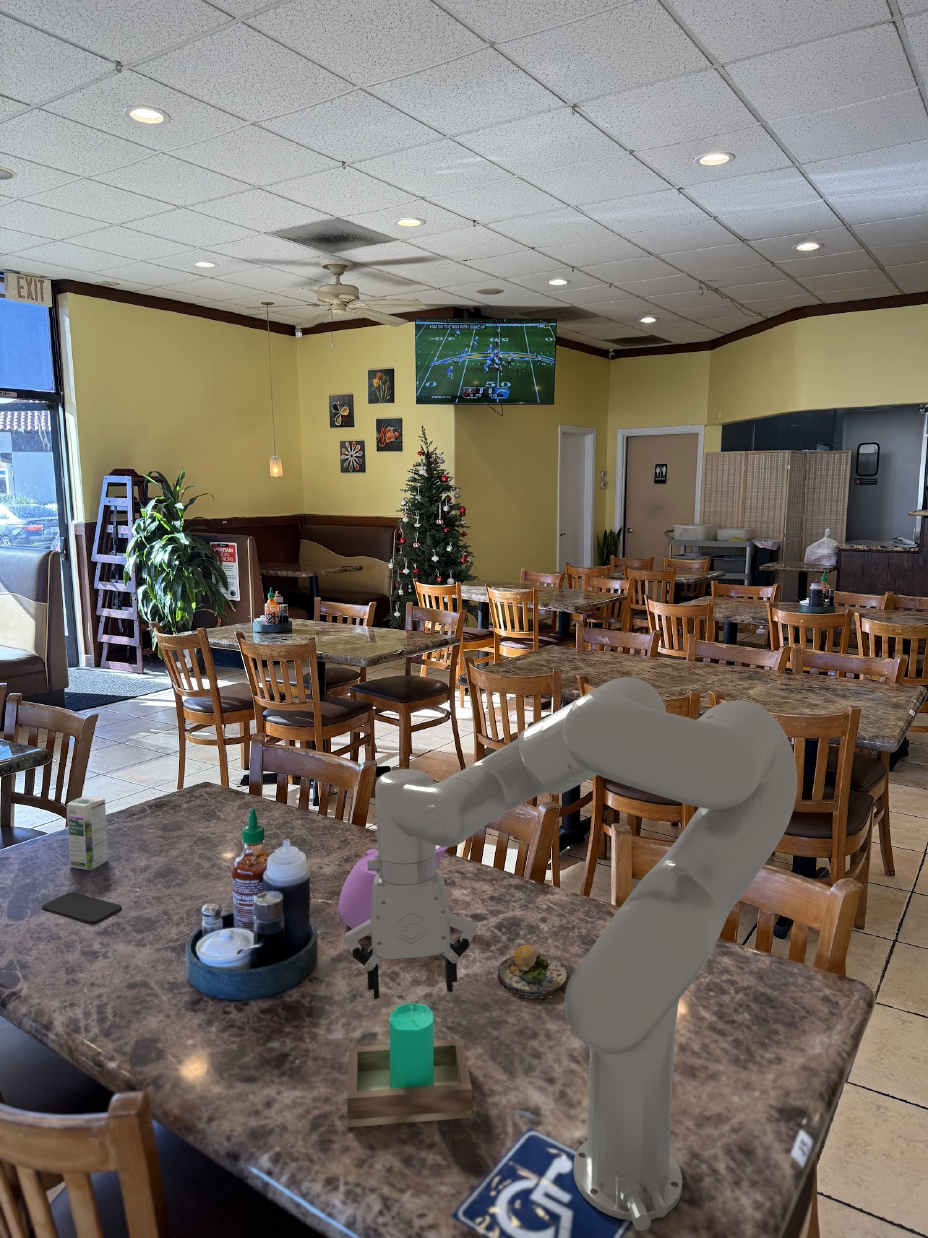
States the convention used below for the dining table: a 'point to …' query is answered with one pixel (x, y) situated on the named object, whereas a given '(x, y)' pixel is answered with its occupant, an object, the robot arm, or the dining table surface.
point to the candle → (411, 1046)
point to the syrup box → (87, 833)
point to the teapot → (363, 890)
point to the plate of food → (531, 973)
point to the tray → (414, 1104)
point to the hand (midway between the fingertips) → (412, 990)
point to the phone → (82, 907)
